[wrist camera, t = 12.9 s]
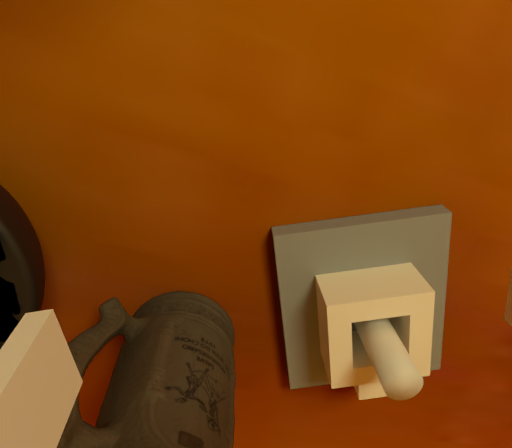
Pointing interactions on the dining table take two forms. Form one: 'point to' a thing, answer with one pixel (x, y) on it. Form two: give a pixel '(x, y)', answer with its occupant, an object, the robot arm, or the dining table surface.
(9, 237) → the coal bowl
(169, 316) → the beer stein
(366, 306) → the square ring
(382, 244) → the post board
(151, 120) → the dining table surface
